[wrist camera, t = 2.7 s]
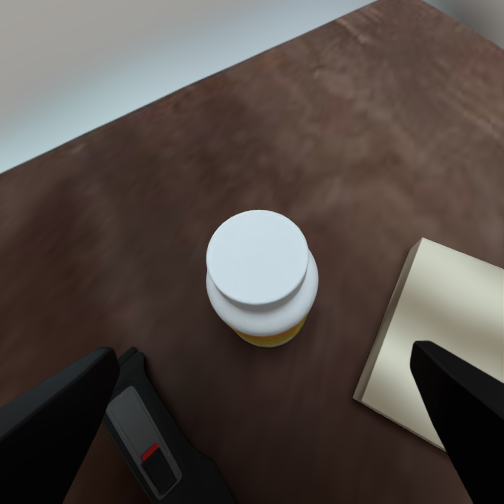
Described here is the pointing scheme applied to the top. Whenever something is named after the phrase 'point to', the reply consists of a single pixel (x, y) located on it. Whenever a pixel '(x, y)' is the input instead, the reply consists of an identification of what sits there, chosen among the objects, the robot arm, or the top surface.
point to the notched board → (433, 330)
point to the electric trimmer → (158, 443)
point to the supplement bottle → (261, 277)
